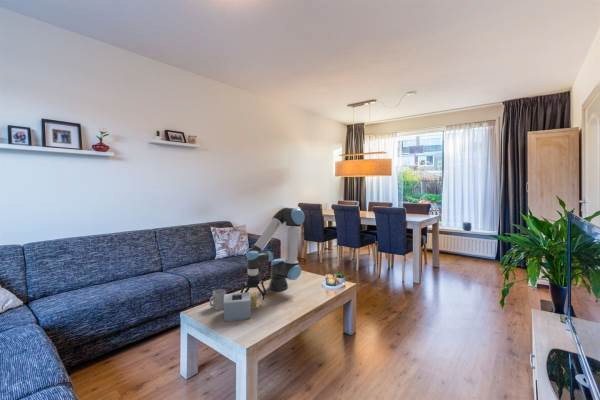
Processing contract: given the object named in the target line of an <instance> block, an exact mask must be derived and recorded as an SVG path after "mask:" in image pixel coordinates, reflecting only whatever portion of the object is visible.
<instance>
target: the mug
mask: <svg viewBox="0 0 600 400" xmlns="http://www.w3.org/2000/svg"><path fill="white" fill-rule="evenodd" d="M226 292H227V291H226V289H223V288H221V289H216V290H213V292H212V296H211V297H210V298H209V306H210V307H211V308H213V310H215V311H221V310H224V294H227V293H226Z"/></svg>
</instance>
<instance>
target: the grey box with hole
mask: <svg viewBox="0 0 600 400" xmlns="http://www.w3.org/2000/svg"><path fill="white" fill-rule="evenodd" d="M251 311H252V309H251V307H250V292H249V291H248V292H246V293H244V292H243V293H240V292H235V293H226V294H224V309H223V322H232V321H242V320H244V321H245V320H251V319H252V317H251Z"/></svg>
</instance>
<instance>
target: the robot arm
mask: <svg viewBox="0 0 600 400" xmlns="http://www.w3.org/2000/svg"><path fill="white" fill-rule="evenodd" d="M304 222H305V213H304V212H303V210H301V209H300V208H293V207H292V208H291V207H282V208H281V209H280V210H278V211H277V212H276V213H275V214H274V215H273V217H272V218H271V221H270V223H269V224H268V225H267V226H266V228H265V230H264V231H263V232H262V234H261V235H260V236H259V238H258V239H257V241H256V242H255V243H254V244H253V246H252V247H250V248H247V250H246V251H245V256H246V258H247V259H246V260H247V262H246V263H247V281H242V287H241V290H240V292H239V293H246V292H249V290H250V289H253V288H254V289H256V288H257V291H259V293H260V296H261V297H260V305H261V306H262V307H263V305H264V304H263V301H265V296H266V295H267V294H268V293H267V290H266V288H265V285H264V280H262V279H261V280H260V279H259V278H260V277H259V268H260V266H259V265H263V264H265V263H270V272H271V273H270V274H271V275H270V281H269V284H268V289H269V290H270V291H273V292H274V291H275V292H282V291H286V290H287V289H289V284H288V281H287V280H291V281H296V280H298V278H299V277H300V276H301V273H302V267H301V266H300V265H299V260H298V248H299V247H298V245H299V230H300V228H301V226H302V224H303V223H304ZM284 224H285V227H286V228H287V233H286V246H285V247H286V248H285V258H274V253H273V252H272V251H271V250H266V251H264V249H265V248H266V246H267V245H268V243H269V242H270V241H271V239H272V238H273V236H274V235H275V234H276V232H277V231H278V230H279V228H280V227H282V226H283V225H284ZM259 284H260V285H261V287H262V288H261V287H260V285H259ZM246 286H247V287H246ZM245 287H246V288H245ZM244 289H245V290H244Z"/></svg>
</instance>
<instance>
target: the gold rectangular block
mask: <svg viewBox="0 0 600 400" xmlns="http://www.w3.org/2000/svg"><path fill="white" fill-rule="evenodd" d="M249 294H250V309H253V308H257V307H258V306H257V299H258V298H257V297H258V296H257V293H256V292H249Z"/></svg>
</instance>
